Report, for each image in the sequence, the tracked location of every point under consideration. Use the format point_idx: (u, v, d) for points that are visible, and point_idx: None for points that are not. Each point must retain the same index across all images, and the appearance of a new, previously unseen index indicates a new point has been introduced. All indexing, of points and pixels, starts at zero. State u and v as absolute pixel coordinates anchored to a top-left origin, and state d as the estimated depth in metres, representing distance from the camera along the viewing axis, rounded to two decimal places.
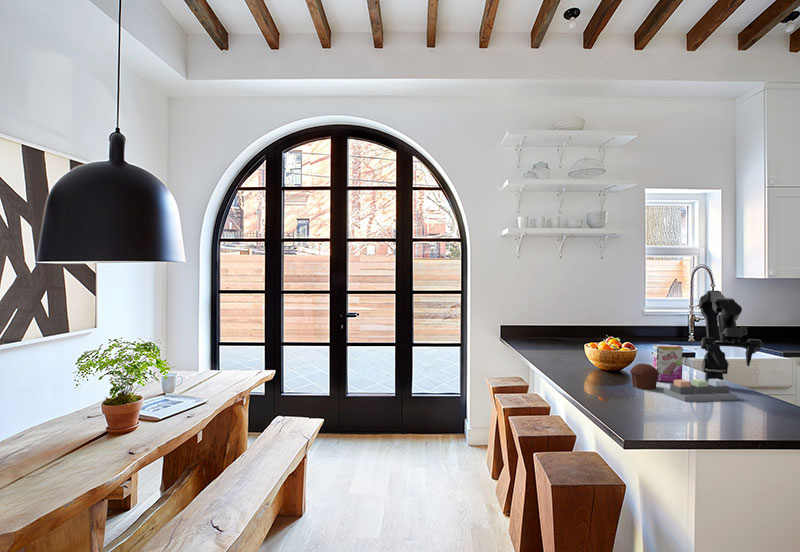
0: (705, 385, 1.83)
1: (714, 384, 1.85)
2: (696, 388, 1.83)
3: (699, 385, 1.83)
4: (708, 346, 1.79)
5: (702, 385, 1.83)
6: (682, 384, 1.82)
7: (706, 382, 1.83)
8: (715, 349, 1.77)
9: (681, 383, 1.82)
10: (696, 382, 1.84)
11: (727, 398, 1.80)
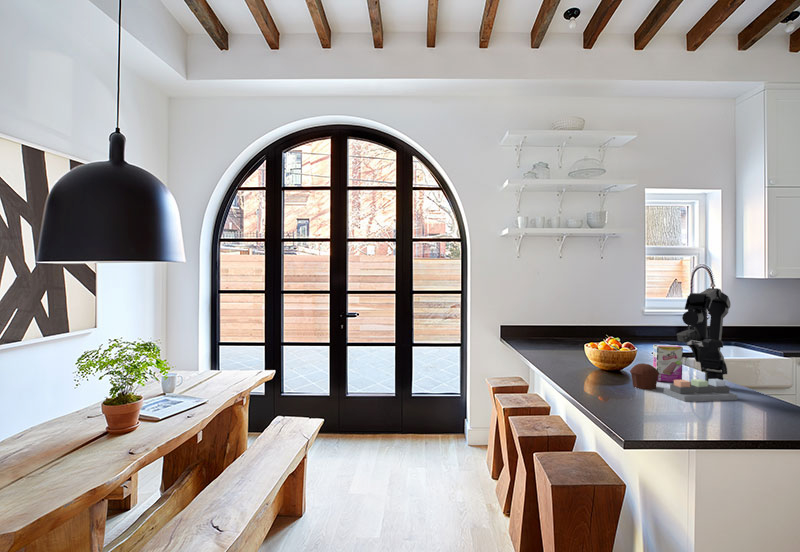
0: (705, 385, 1.83)
1: (714, 384, 1.85)
2: (696, 388, 1.83)
3: (699, 385, 1.83)
4: None
5: (702, 385, 1.83)
6: (682, 384, 1.82)
7: (706, 382, 1.83)
8: (692, 348, 1.91)
9: (681, 383, 1.82)
10: (696, 382, 1.84)
11: (727, 398, 1.80)
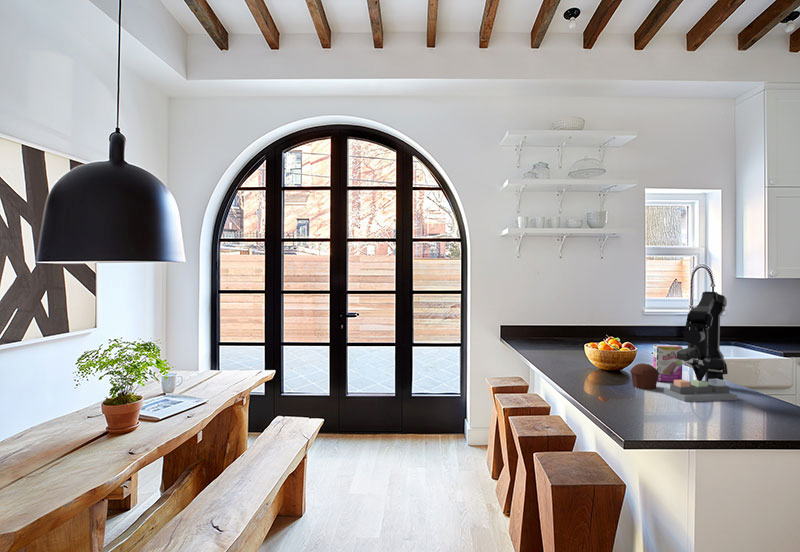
0: (705, 386, 1.83)
1: (714, 384, 1.85)
2: (696, 388, 1.83)
3: (699, 385, 1.83)
4: None
5: (702, 385, 1.83)
6: (682, 384, 1.82)
7: (706, 382, 1.83)
8: (693, 367, 1.86)
9: (681, 383, 1.82)
10: (696, 382, 1.84)
11: (727, 398, 1.80)
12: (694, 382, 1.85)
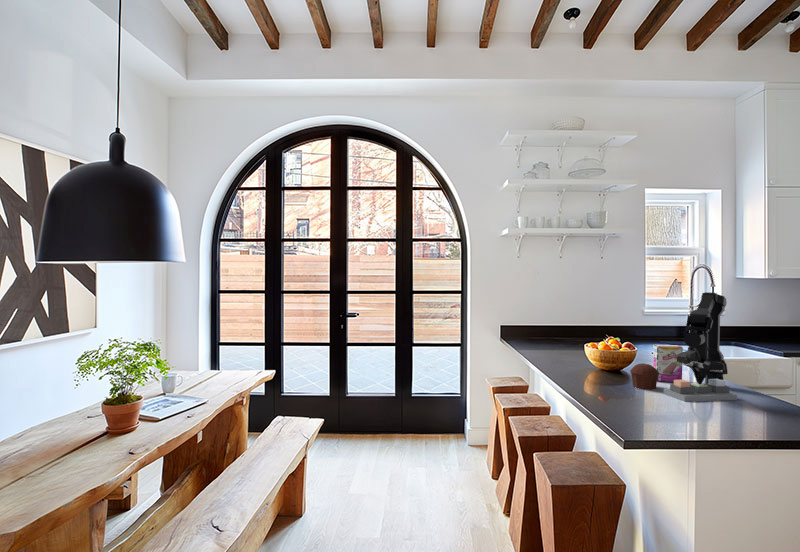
0: None
1: (714, 384, 1.85)
2: (696, 388, 1.83)
3: None
4: None
5: None
6: (682, 384, 1.82)
7: (706, 386, 1.83)
8: (693, 370, 1.86)
9: (681, 383, 1.82)
10: (696, 385, 1.84)
11: (727, 398, 1.80)
12: (694, 385, 1.85)
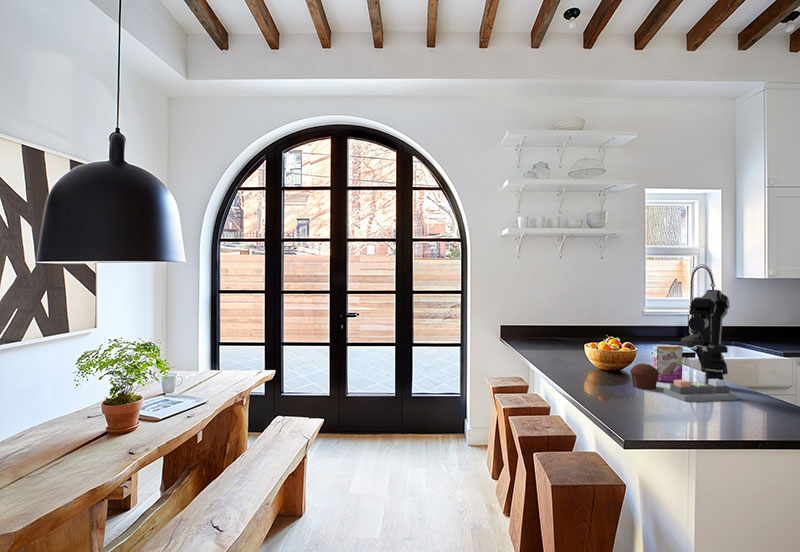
0: None
1: (714, 384, 1.85)
2: (696, 388, 1.83)
3: None
4: None
5: None
6: (682, 384, 1.82)
7: (706, 386, 1.83)
8: (697, 353, 1.90)
9: (681, 383, 1.82)
10: (696, 385, 1.84)
11: (727, 398, 1.80)
12: (694, 385, 1.85)
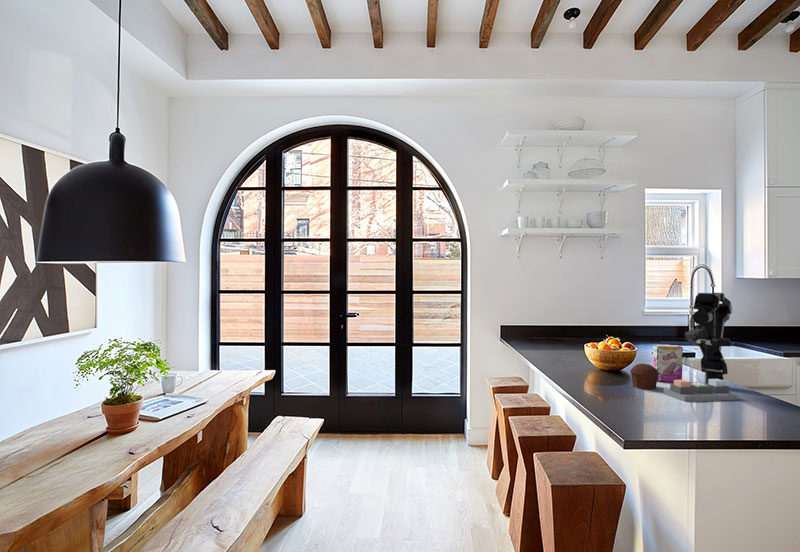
0: None
1: (714, 384, 1.85)
2: (696, 388, 1.83)
3: None
4: None
5: None
6: (682, 384, 1.82)
7: (706, 386, 1.83)
8: (701, 347, 1.94)
9: (681, 383, 1.82)
10: (696, 385, 1.84)
11: (727, 398, 1.80)
12: (694, 385, 1.85)
